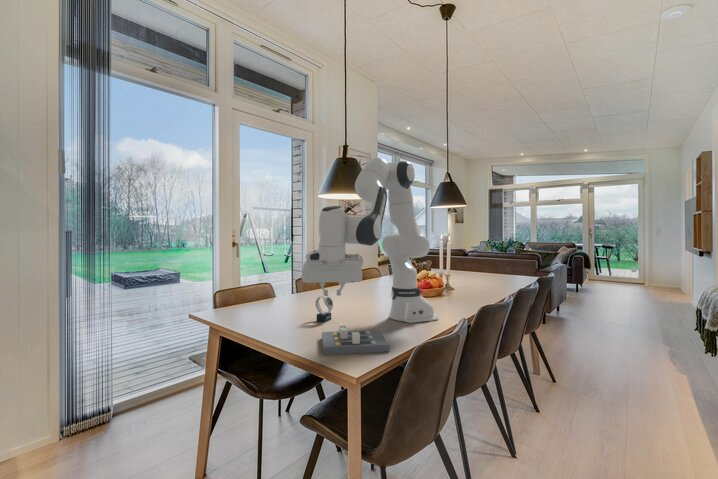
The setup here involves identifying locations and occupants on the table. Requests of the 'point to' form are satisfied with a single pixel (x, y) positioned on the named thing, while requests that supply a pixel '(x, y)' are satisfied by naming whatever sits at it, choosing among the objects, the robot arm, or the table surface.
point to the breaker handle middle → (343, 333)
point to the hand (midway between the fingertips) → (332, 295)
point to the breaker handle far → (341, 326)
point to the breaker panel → (368, 344)
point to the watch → (322, 315)
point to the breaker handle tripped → (355, 338)
